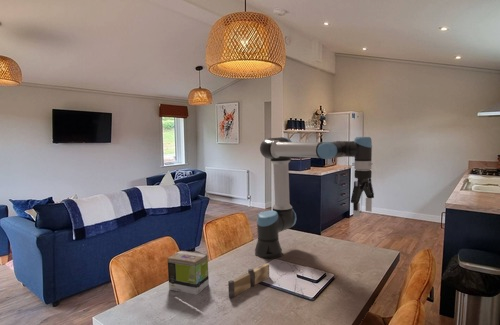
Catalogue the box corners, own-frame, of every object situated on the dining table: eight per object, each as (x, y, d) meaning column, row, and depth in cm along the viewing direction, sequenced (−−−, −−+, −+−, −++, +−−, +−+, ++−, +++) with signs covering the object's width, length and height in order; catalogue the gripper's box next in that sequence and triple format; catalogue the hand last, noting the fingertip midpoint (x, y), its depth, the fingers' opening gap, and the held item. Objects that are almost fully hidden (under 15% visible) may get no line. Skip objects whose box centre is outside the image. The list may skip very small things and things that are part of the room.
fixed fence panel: (227, 298, 126) (227, 282, 126) (247, 287, 135) (246, 272, 134) (231, 300, 125) (231, 283, 124) (251, 289, 133) (250, 273, 133)
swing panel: (251, 287, 134) (251, 271, 133) (247, 285, 135) (247, 270, 135) (269, 276, 143) (269, 262, 142) (265, 275, 144) (265, 261, 144)
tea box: (209, 285, 138) (208, 253, 136) (196, 296, 129) (195, 262, 127) (182, 280, 144) (180, 249, 143) (168, 290, 135) (166, 257, 134)
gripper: (359, 173, 133) (358, 221, 135) (381, 167, 151) (380, 210, 153) (342, 172, 138) (342, 218, 140) (366, 166, 156) (365, 207, 158)
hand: (362, 214), depth 146 cm, fingers open, 13 cm apart
